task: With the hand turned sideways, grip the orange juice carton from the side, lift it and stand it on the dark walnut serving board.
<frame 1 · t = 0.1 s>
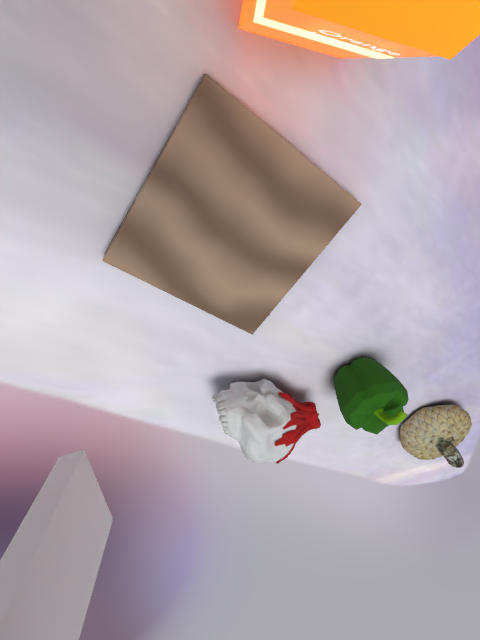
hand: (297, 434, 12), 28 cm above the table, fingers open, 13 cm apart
acorn cap: (427, 420, 62), on the table
candle: (262, 396, 52), on the table
board: (231, 226, 36), on the table
bell pepper: (354, 371, 52), on the table
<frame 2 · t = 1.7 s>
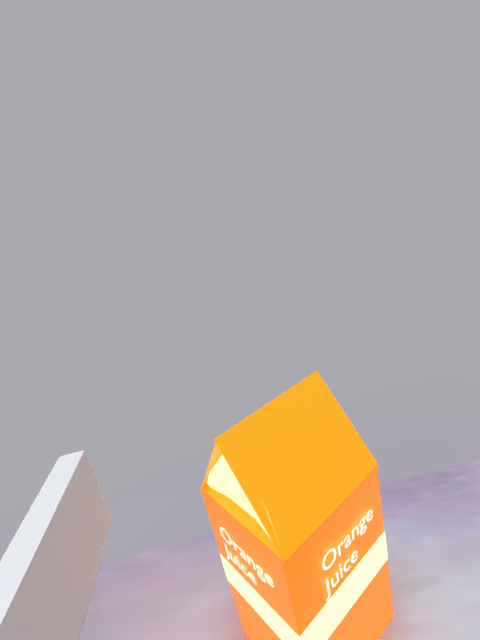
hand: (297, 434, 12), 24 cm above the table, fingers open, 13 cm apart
orange juice: (318, 627, 28), on the table
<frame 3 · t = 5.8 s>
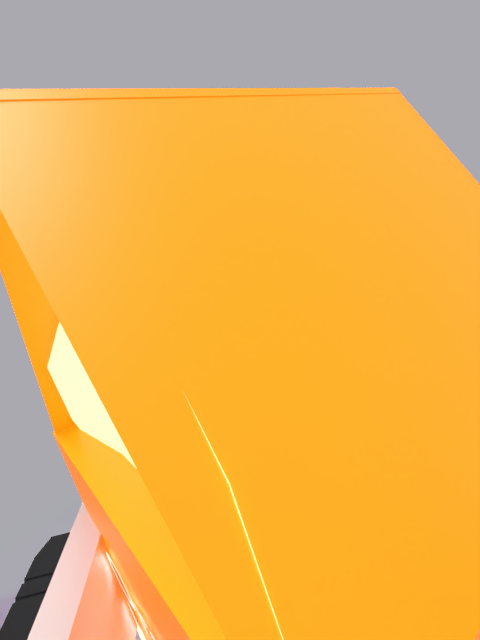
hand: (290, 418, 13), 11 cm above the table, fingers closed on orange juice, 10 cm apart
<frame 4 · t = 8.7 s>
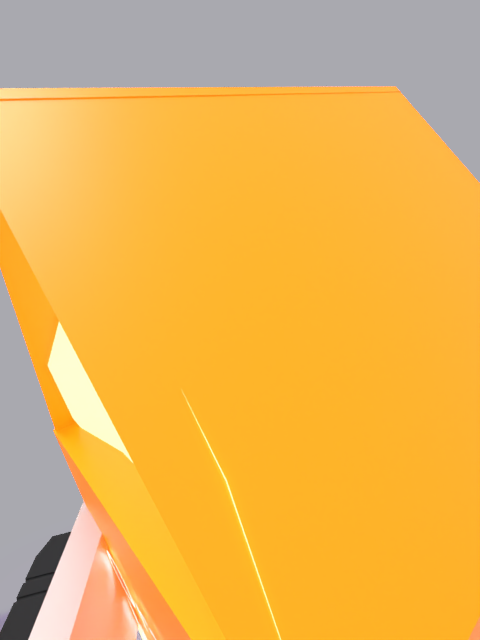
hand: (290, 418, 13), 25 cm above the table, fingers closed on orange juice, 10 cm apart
when the fingers open (14 cm above the table, at t = 11.6 s): orange juice drops 1 cm, resting on board.
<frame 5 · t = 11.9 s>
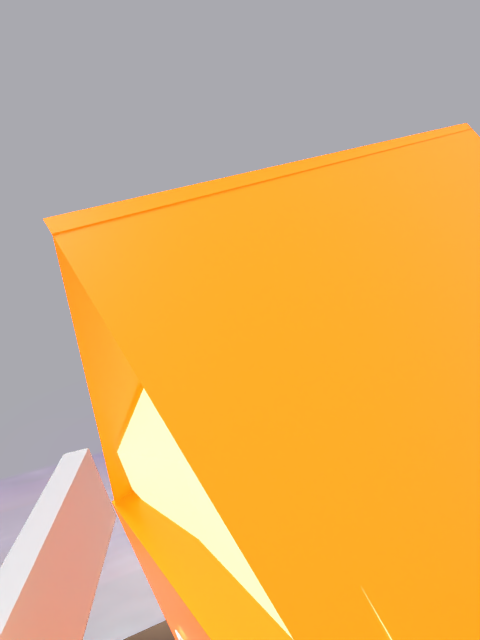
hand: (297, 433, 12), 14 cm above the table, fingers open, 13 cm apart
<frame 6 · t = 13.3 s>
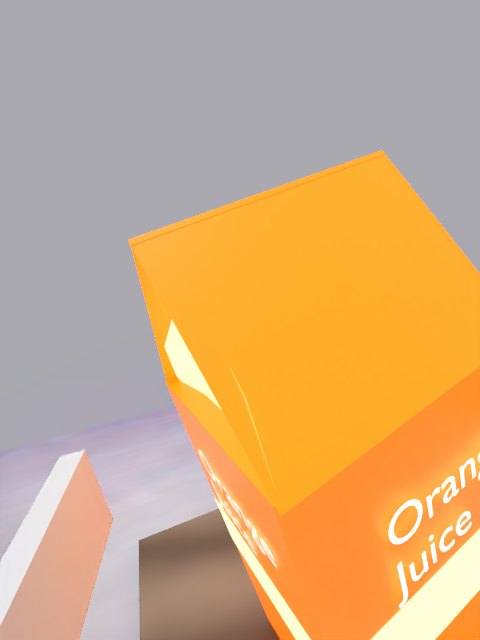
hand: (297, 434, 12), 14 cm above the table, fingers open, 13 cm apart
orange juice: (388, 629, 17), point 2 cm above the table
board: (322, 633, 19), on the table
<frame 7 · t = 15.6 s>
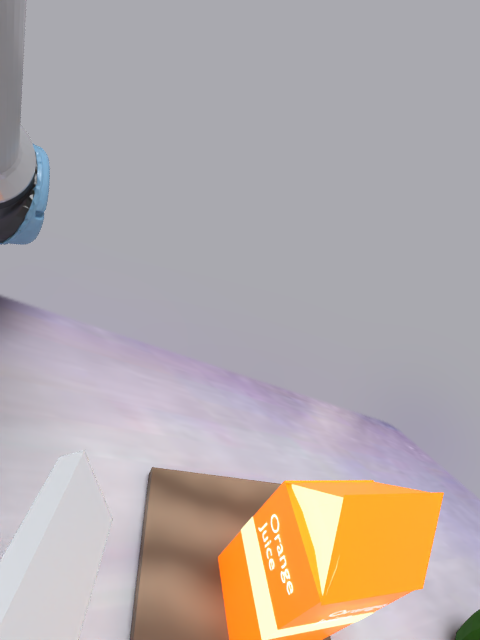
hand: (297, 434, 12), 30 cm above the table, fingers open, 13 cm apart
orange juice: (266, 598, 35), point 1 cm above the table, touching board
board: (229, 572, 36), on the table
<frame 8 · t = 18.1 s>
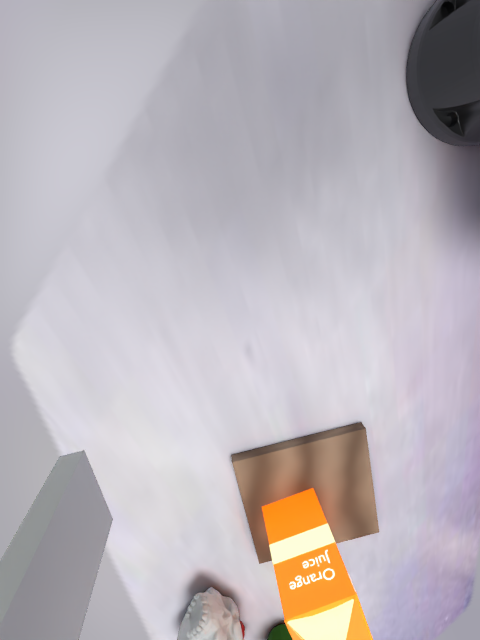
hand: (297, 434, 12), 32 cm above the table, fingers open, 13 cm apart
candle: (212, 610, 57), on the table
orange juice: (295, 519, 52), point 1 cm above the table, touching board
board: (307, 491, 52), on the table
bell pepper: (285, 632, 60), on the table
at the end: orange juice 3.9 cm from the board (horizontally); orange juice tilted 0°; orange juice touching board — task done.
